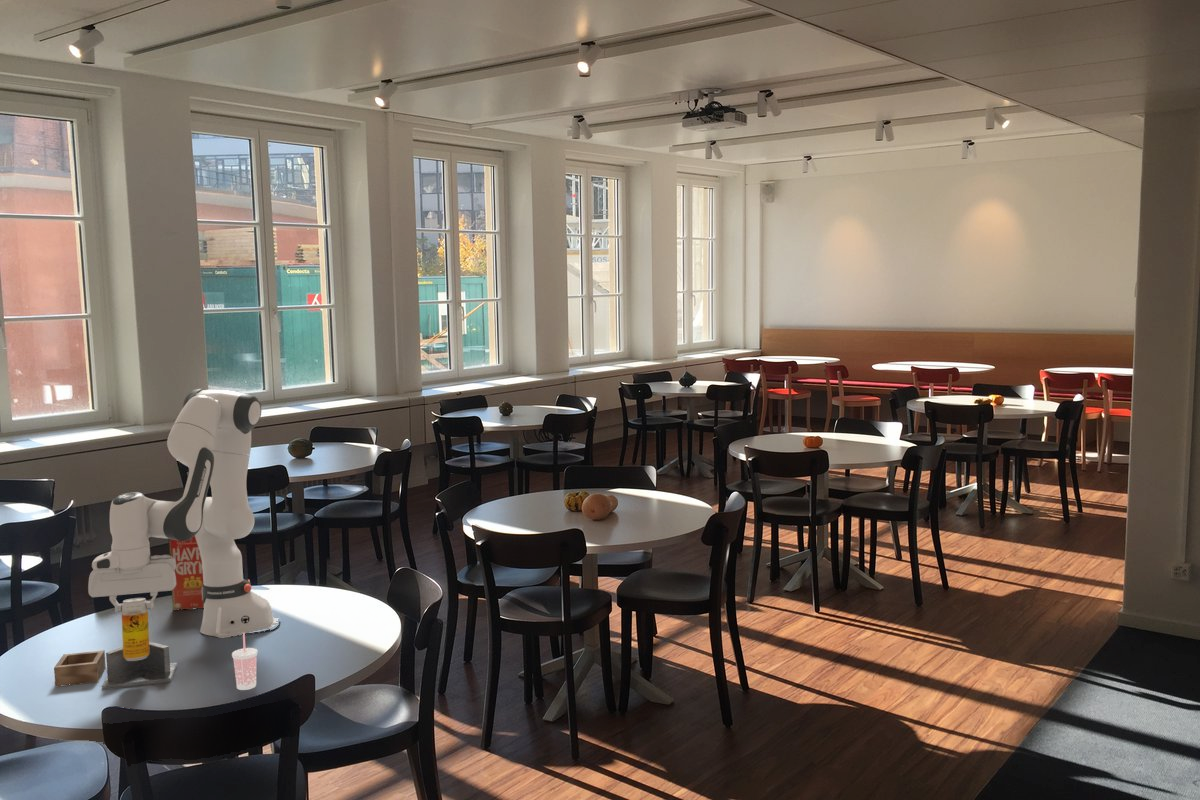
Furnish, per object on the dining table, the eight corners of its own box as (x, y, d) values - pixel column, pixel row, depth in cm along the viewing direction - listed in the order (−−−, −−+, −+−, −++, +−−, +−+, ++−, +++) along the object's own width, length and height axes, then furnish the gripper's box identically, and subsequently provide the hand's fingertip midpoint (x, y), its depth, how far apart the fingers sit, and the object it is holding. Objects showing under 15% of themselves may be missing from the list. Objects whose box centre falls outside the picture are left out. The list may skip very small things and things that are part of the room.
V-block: (176, 665, 262) (175, 637, 261) (170, 681, 251) (168, 651, 250) (111, 673, 257) (109, 643, 256) (102, 689, 246) (99, 659, 245)
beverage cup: (262, 681, 250) (259, 628, 249) (255, 690, 244) (252, 636, 243) (238, 682, 250) (235, 629, 248) (230, 691, 244) (227, 637, 242)
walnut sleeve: (105, 668, 261) (104, 650, 260) (97, 682, 251) (96, 663, 251) (64, 672, 258) (63, 654, 257) (55, 686, 249) (54, 667, 248)
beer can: (124, 662, 246) (121, 603, 246) (122, 657, 252) (120, 599, 252) (150, 658, 249) (148, 600, 249) (148, 654, 254) (146, 596, 255)
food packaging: (171, 611, 308) (166, 533, 306) (178, 602, 317) (173, 526, 315) (216, 608, 311) (211, 531, 308) (221, 599, 320) (217, 524, 317)
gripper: (177, 550, 255) (180, 602, 256) (90, 557, 249) (93, 610, 250) (173, 556, 248) (176, 609, 250) (84, 563, 243) (88, 617, 244)
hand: (134, 610), depth 250 cm, fingers closed on beer can, 6 cm apart
